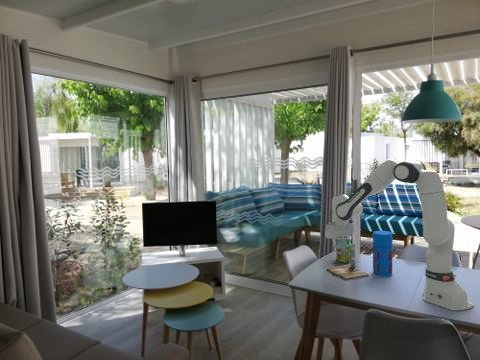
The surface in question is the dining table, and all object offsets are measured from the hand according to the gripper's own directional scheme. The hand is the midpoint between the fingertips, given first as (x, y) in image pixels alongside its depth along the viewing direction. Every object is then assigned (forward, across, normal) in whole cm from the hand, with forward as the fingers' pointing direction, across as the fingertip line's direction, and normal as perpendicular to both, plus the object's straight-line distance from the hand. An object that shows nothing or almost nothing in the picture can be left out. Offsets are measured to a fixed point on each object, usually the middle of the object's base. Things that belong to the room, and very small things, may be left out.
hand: (339, 243), depth 224 cm
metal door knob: (+17, +9, -2) cm, 20 cm away
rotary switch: (+2, 0, 0) cm, 2 cm away
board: (+18, +5, -1) cm, 19 cm away
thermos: (+19, +21, -14) cm, 31 cm away
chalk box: (+19, +22, +17) cm, 34 cm away
